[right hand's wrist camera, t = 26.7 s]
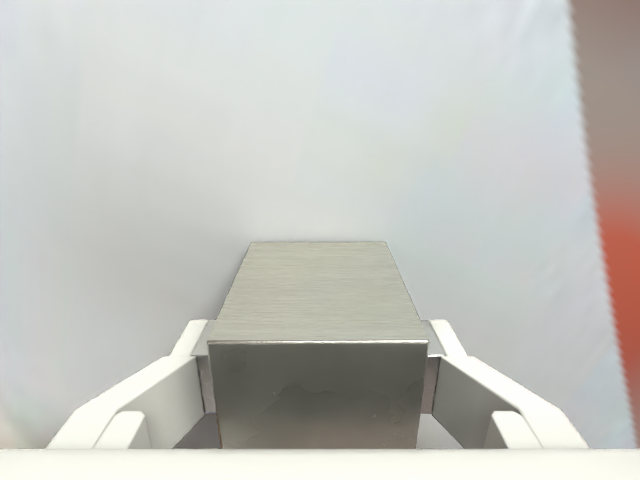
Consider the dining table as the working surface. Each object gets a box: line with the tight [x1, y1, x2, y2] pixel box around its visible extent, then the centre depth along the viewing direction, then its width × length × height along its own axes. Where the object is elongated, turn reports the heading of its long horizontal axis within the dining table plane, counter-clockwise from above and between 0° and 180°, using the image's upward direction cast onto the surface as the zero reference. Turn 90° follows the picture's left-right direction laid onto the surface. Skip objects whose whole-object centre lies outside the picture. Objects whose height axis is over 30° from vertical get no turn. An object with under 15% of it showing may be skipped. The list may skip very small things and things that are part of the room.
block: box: [206, 242, 430, 449], centre depth 10 cm, size 4×5×5 cm
